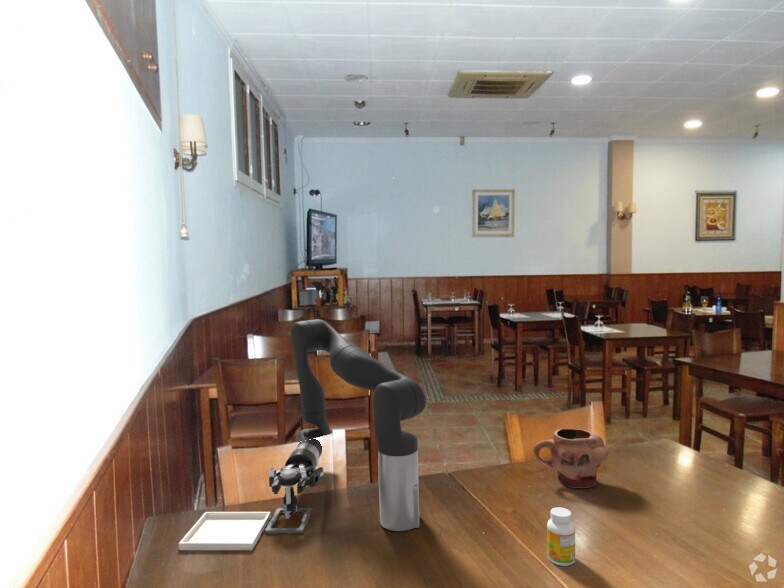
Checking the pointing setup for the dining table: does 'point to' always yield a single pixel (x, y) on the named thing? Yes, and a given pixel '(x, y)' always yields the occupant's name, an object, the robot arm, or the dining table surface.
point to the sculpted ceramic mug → (574, 456)
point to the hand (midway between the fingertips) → (287, 489)
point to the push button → (289, 490)
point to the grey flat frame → (272, 530)
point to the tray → (226, 531)
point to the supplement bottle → (561, 537)
